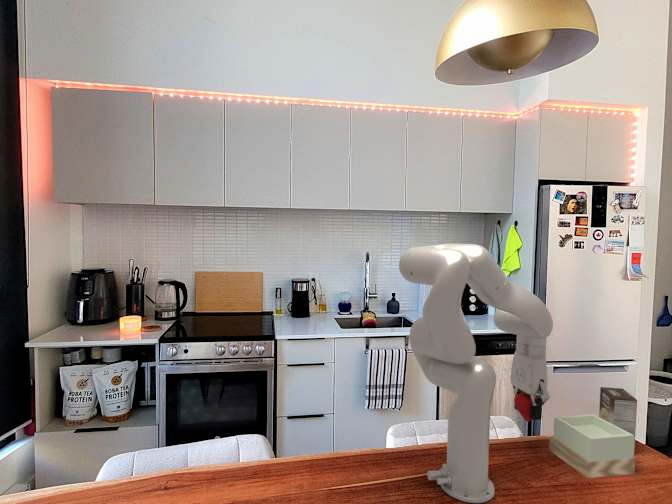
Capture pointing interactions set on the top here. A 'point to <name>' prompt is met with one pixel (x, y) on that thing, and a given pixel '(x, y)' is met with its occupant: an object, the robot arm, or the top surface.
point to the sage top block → (594, 438)
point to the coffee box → (618, 409)
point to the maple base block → (591, 467)
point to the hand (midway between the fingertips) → (527, 413)
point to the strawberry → (523, 404)
